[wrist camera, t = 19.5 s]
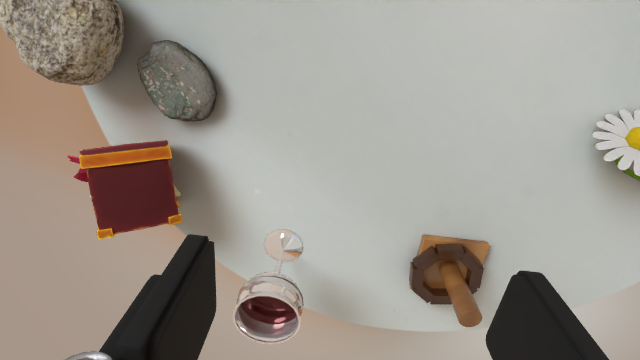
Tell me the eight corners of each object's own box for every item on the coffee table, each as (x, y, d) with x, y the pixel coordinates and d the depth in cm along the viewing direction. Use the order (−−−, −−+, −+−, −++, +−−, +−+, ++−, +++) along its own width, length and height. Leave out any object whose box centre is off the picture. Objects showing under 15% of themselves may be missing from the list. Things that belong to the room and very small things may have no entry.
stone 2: (231, 91, 35) (235, 88, 37) (162, 25, 33) (170, 26, 35) (187, 138, 37) (193, 133, 39) (118, 79, 34) (128, 76, 36)
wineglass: (279, 213, 43) (260, 281, 32) (320, 245, 45) (315, 320, 34) (246, 246, 46) (218, 320, 35) (286, 275, 47) (271, 354, 37)
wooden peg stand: (487, 241, 44) (521, 294, 36) (468, 290, 47) (496, 349, 39) (422, 234, 44) (442, 286, 36) (409, 284, 47) (423, 341, 39)
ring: (483, 243, 43) (487, 250, 42) (472, 296, 46) (476, 304, 45) (412, 243, 43) (414, 250, 42) (407, 296, 47) (409, 304, 46)
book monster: (188, 231, 37) (175, 189, 47) (175, 149, 34) (164, 122, 44) (67, 257, 33) (82, 205, 43) (38, 165, 30) (61, 132, 39)
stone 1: (118, 93, 37) (34, 34, 36) (149, 8, 33) (53, -62, 32) (69, 108, 32) (-31, 39, 31) (98, 9, 27) (-20, -76, 26)
